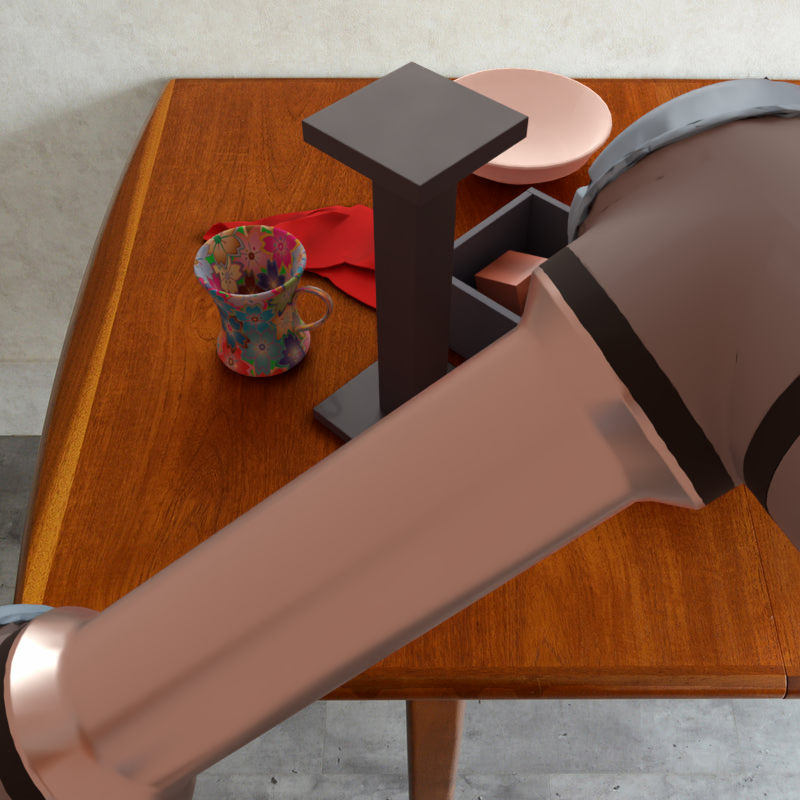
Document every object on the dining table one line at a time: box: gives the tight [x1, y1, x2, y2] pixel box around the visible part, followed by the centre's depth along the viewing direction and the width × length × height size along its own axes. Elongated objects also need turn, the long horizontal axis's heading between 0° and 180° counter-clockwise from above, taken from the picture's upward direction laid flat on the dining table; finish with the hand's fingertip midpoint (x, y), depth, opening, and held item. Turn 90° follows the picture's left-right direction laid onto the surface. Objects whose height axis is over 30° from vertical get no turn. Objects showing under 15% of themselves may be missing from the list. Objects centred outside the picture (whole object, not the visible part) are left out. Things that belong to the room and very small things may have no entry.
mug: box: [193, 225, 334, 378], centre depth 78 cm, size 12×9×11 cm
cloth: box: [202, 203, 376, 310], centre depth 91 cm, size 26×14×2 cm, turn 63°
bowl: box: [453, 67, 613, 186], centre depth 99 cm, size 20×20×6 cm
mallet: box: [475, 250, 547, 317], centre depth 76 cm, size 5×22×4 cm, turn 46°
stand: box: [301, 61, 529, 444], centre depth 66 cm, size 12×12×28 cm
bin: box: [449, 186, 571, 361], centre depth 79 cm, size 16×25×8 cm, turn 46°
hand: (698, 128), depth 60 cm, fingers open, 13 cm apart
